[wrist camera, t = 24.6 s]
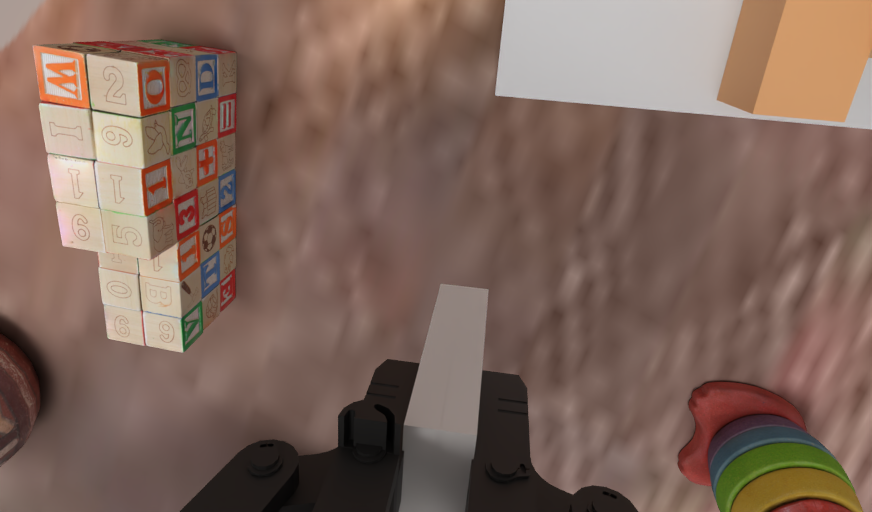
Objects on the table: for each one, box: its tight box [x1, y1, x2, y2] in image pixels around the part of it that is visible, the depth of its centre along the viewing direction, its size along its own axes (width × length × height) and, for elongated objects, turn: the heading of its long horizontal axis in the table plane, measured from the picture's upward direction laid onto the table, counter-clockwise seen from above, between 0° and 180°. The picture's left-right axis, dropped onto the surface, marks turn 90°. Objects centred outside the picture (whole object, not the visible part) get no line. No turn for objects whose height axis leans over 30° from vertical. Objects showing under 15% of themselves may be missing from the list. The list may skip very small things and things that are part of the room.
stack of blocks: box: [33, 40, 237, 353], centre depth 40 cm, size 21×6×12 cm, turn 172°
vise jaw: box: [717, 0, 872, 122], centre depth 31 cm, size 12×5×6 cm, turn 176°
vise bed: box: [495, 0, 872, 129], centre depth 32 cm, size 14×30×8 cm, turn 86°
